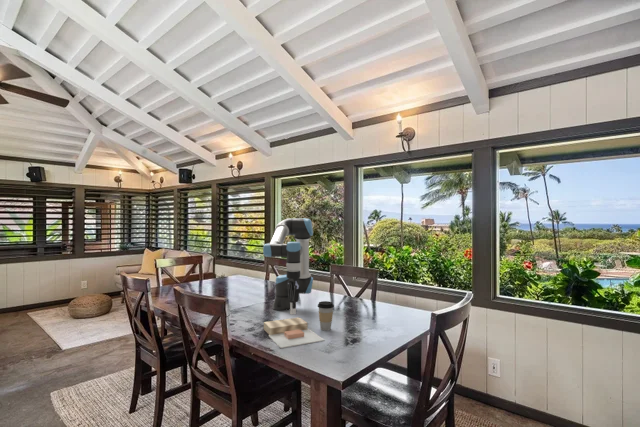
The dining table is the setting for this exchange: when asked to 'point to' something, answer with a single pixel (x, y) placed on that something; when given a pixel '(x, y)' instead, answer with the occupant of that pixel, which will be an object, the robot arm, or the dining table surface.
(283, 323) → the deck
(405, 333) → the dining table surface
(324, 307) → the coffee cup
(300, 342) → the mat
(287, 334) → the tile
